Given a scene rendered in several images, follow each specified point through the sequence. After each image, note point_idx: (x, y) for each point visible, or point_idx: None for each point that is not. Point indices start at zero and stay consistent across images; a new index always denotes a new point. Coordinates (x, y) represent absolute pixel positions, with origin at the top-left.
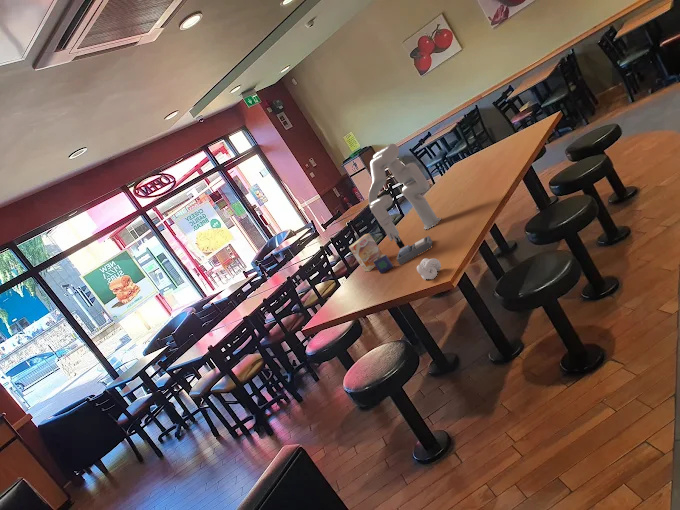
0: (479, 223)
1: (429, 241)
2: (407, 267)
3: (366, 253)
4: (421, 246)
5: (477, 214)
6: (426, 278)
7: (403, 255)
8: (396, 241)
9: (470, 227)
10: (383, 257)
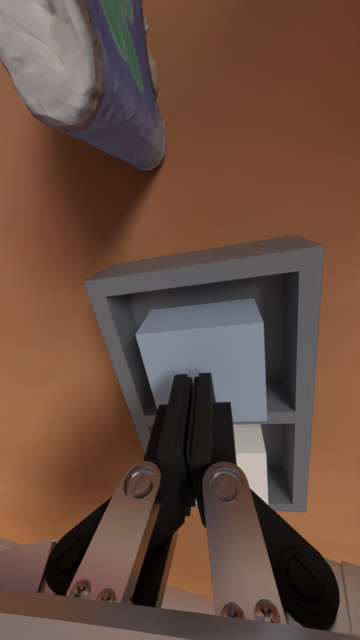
0: (195, 584)
1: None
2: (22, 345)
3: None
4: None
5: None
6: None
7: (120, 351)
8: (97, 526)
9: (200, 569)
10: (8, 57)
